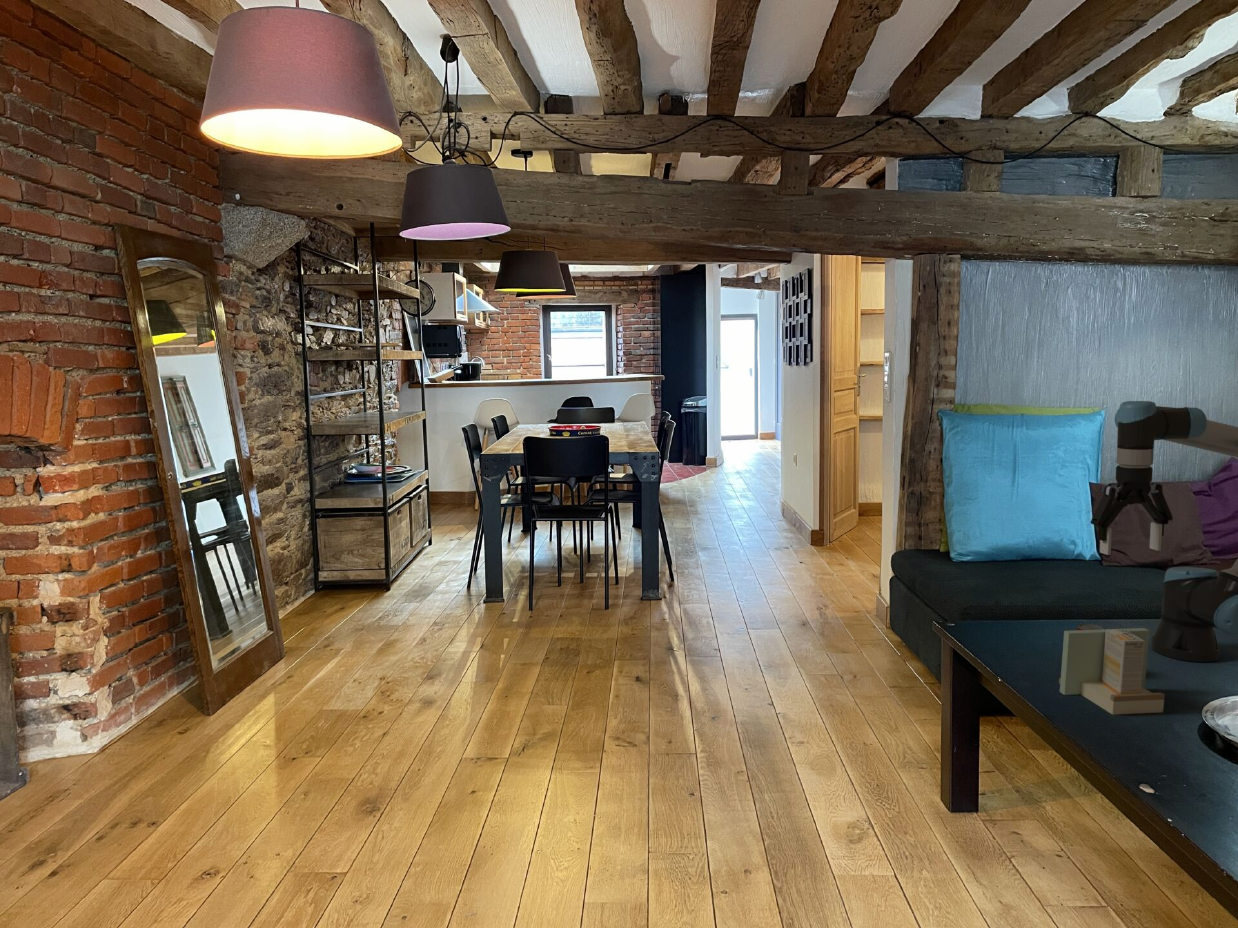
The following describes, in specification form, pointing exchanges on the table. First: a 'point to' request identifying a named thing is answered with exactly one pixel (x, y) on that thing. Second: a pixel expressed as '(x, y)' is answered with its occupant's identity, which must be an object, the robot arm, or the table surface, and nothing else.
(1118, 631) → the supplement box
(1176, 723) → the table surface
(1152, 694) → the wall board
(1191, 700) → the table surface
